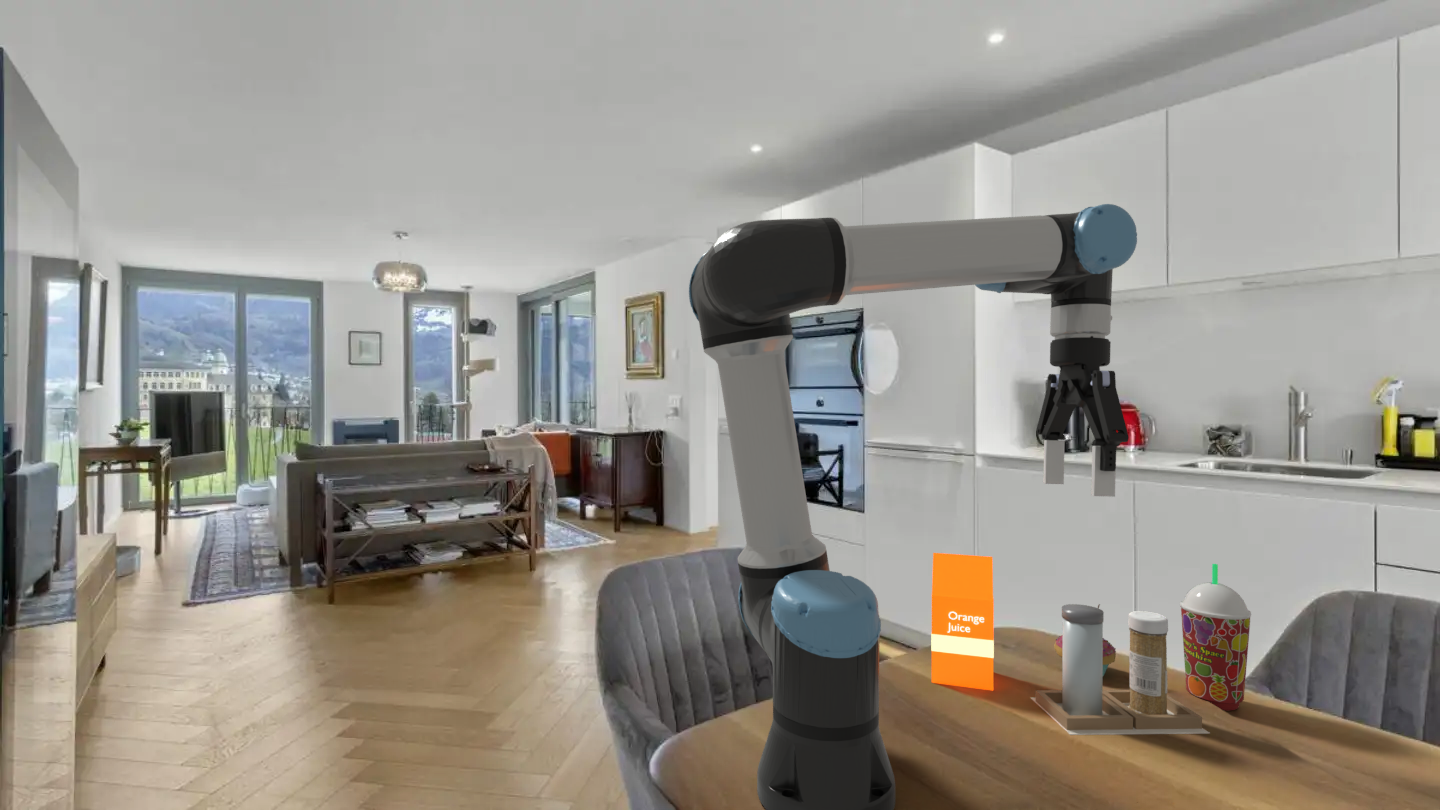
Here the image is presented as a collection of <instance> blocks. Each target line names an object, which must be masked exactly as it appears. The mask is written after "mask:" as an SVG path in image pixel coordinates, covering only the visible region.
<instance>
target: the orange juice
mask: <svg viewBox="0 0 1440 810" xmlns="http://www.w3.org/2000/svg"><path fill="white" fill-rule="evenodd" d="M932 556H933V557H932V577H931V580H932V584H931V634H930V636H931V638H930V640H931V642H930V643H931V644H930V645H931V648H930V649H931V684H932V683H933V684H939V685H947V686H954V687H962V688H963V687H964V688H969V689H977V690H978V689H979V690H984V691H992V692H993V691H994V658H995V653H994V652H995V645H994V644H995V640H994V639H995V638H994V635H995V632H994V629H995V627H994V626H995V624H994V621H995V617H994V615H995V614H994V613H995V612H994V611H995V610H994V608H995V607H994V606H995V605H994V603H995V602H994V601H995V600H994V576H993V575H994V572H993V571H994V569H993V568H994V567H993V565H994V564H993V556H985V555H983V556H982V555H972V554H971V555H970V554H958V553H957V554H956V553H943V552H941V553H940V552H933V553H932Z"/></svg>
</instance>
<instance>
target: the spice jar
mask: <svg viewBox="0 0 1440 810" xmlns="http://www.w3.org/2000/svg"><path fill="white" fill-rule="evenodd" d="M1127 620H1128V623H1127V624H1128V629H1129V653H1128V656H1129V690H1130V705H1129V708H1130V709H1131V710H1133V711H1134V712H1135V713H1137V714H1138V715H1168V712H1167V695H1168V670H1167V669H1168V668H1167V667H1168V666H1167V664H1168V663H1167V662H1168V661H1167V659H1168V658H1167V654H1168V653H1167V636H1168V631H1169V619H1168V618H1167V617H1166V616H1165V615H1163V614H1160V613H1157V612H1152V611H1145V610H1134V611H1131V612H1129V613H1128V619H1127Z"/></svg>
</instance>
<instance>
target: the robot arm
mask: <svg viewBox="0 0 1440 810" xmlns="http://www.w3.org/2000/svg"><path fill="white" fill-rule="evenodd" d="M1137 244H1138V232H1137V226H1136V223H1135V220H1134V219H1133V217H1132V215H1131V214H1130V213H1129V212H1128V211H1126V210H1125V208H1123V207H1121V206H1118V205H1117V204H1113V203H1103V204H1099V205H1095V206H1088V207H1084V209H1081V210H1080V211H1078V212H1073V213H1072V212H1071V213H1057V214H1048V215H1046V214H1045V215H1023V216H1022V215H1021V216H1007V217H1005V216H1004V217H989V218H987V217H986V218H969V219H953V220H952V219H951V220H949V219H948V220H930V221H919V222H918V221H917V222H896V223H895V222H894V223H882V224H881V223H880V224H863V225H843V224H842V223H841V222H840V220H838V219H837V218H836V217H816V218H782V219H781V218H780V219H764V220H763V219H761V220H759V219H758V220H755V221H749V222H743V223H740V224H737V225H735V226H733V227H730V228H729V229H727V230H726V231H725V232H723V233H722V234H721V235H720V236H719V237H718V238H717V239H716V240H715V241H714V243H712V245H711V247H710V248H709V249H708V250H707V251H706V252H705V253H704V254H703V255H702V256H701V257H700V258H699V259H698V261H697V263H696V264H695V265H694V267H693V270H692V273H691V277H690V280H689V283H688V297H689V303H690V307H691V309H692V312H693V314H694V316H695V319H696V320H697V321H698V324H699V330H700V336H701V343H702V348H703V353H704V354H706V355H707V356H708V357H709V358H711V359H712V360H714V361H715V362H716V364H717V366H718V373H719V379H720V386H721V391H722V398H723V399H722V400H723V403H724V411H725V416H726V422H727V428H728V436H729V442H730V448H731V453H732V460H733V461H732V462H733V467H734V473H735V479H736V485H737V493H738V496H739V497H738V498H739V504H740V505H739V506H740V510H741V511H740V512H741V517H742V524H743V529H744V535H745V540H746V541H745V542H746V544H745V547H744V548H743V549H742V551H741V552H740V553H739V555H738V556H737V565H738V571H739V572H738V573H739V579H740V584H739V588H738V597H737V599H738V607H739V608H738V609H739V613H740V617H741V619H742V622H743V623H744V625H745V628H746V629H747V631H748V632H749V633H750V635H751V636H752V637H753V638H754V640H756V641H757V643H758V644H759V646H760V648H761V649H763V651H764V653H765V654H766V656H767V657H768V658H769V659H770V662H771V664H772V723H771V725H770V729H769V732H768V735H767V738H766V741H765V745H764V746H763V750H762V753H761V756H760V760H759V762H758V766H757V775H756V780H757V781H756V782H757V783H756V784H757V788H756V791H757V796H758V797H757V798H758V800H759V801H760V804H761V805H762V806H763V808H764V809H765V810H894V809H895V807H896V780H895V775H894V772H893V768H892V765H891V763H890V759H889V756H888V753H887V750H886V747H885V743H884V740H883V737H882V733H881V730H880V723H879V721H880V718H879V717H880V712H879V711H880V636H881V631H882V629H881V628H882V627H881V626H882V623H881V617H880V614H879V613H880V612H879V602H878V598H877V595H876V594H875V592H874V590H873V589H872V588H871V587H870V586H869V585H867V584H866V583H865V582H864V581H862V580H860V579H858V578H857V577H854V576H852V575H843V573H842V572H841V573H840V572H838V571H837V572H836V571H832V570H830V565H829V559H828V553H827V546H826V544H824V542H823V541H821V540H820V539H819V538H817V537H815V536H814V534H813V533H812V527H811V520H810V512H809V507H808V500H807V495H806V488H805V481H804V474H803V469H802V463H801V454H800V450H799V442H798V437H797V431H796V425H795V423H796V422H795V418H794V410H793V406H792V404H793V403H792V398H791V392H790V386H789V379H788V378H789V377H788V372H787V366H786V360H785V351H786V349H787V348H788V346H789V344H790V343H791V342H792V340H793V339H794V335H793V327H792V321H791V315H790V314H794V313H796V312H799V311H803V310H807V309H811V308H819V307H825V306H837V305H839V304H840V303H841V302H842V301H843V299H844V298H845V297H846V296H849V295H862V294H863V295H864V294H877V293H887V292H891V293H892V292H899V291H900V292H901V291H912V290H915V291H916V290H926V289H937V288H938V289H939V288H949V287H951V288H952V287H963V286H974V285H975V287H976V288H977V289H979V290H981V291H987V292H994V293H998V294H1001V293H1014V294H1015V293H1017V294H1043V295H1050V301H1051V302H1050V303H1051V304H1050V321H1049V323H1050V325H1049V326H1050V327H1049V328H1050V331H1049V333H1050V334H1049V335H1050V336H1051V337H1053V338H1054V339H1052V340H1051V342H1050V345H1049V346H1050V347H1049V363H1050V365H1051V366H1052V367H1056V368H1057V367H1058V368H1059V369H1060V370H1059V373H1048V375H1047V383H1046V392H1045V395H1044V399H1043V403H1042V407H1041V409H1040V410H1041V411H1040V415H1039V419H1038V423H1037V426H1036V432H1035V433H1036V434H1037V436H1038V435H1040V436H1041V439H1042V440H1043V443H1044V444H1043V472H1042V473H1043V476H1042V477H1043V481H1042V482H1043V484H1044V485H1064V483H1065V481H1064V480H1065V472H1064V471H1065V442H1066V441H1065V440H1066V436H1065V435H1064V432H1065V430H1066V428H1067V426H1068V423H1069V422H1070V419H1071V417H1072V415H1073V414H1074V410H1075V409H1076V408H1077V407H1079V408H1082V410H1083V411H1082V412H1083V413H1084V416H1085V419H1086V421H1087V424H1088V426H1089V428H1090V430H1091V432H1092V436H1093V438H1094V440H1093V441H1092V443H1091V446H1092V447H1091V448H1092V449H1091V451H1092V452H1091V480H1090V481H1091V484H1090V485H1091V488H1090V491H1091V492H1090V496H1091V497H1109V498H1110V497H1111V498H1113V497H1114V498H1115V497H1116V473H1117V472H1116V468H1117V448H1118V447H1119V446H1120V445H1121V444H1122V443H1127V442H1128V441H1129V433H1128V429H1127V424H1126V421H1125V417H1124V414H1123V413H1124V412H1123V410H1122V406H1121V402H1120V399H1119V398H1120V397H1119V395H1118V390H1117V384H1116V383H1117V381H1116V372H1115V370H1101V367H1107V366H1109V365H1110V363H1111V341H1110V339H1109V338H1106V337H1107V336H1109V335H1110V334H1111V322H1112V320H1113V315H1112V310H1111V309H1112V292H1113V291H1112V288H1113V270H1114V269H1118V268H1119V267H1121V266H1123V265H1125V264H1126V263H1127V262H1128V261H1129V260H1130V259H1131V257H1132V256H1133V254H1134V253H1135V251H1136V248H1137Z"/></svg>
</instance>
